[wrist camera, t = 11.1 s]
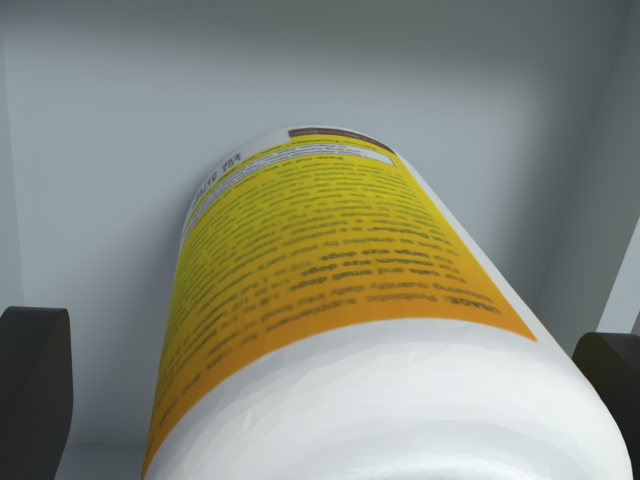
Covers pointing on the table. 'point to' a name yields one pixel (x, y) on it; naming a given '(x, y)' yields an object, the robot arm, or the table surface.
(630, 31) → the bin
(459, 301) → the supplement bottle
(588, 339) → the robot arm
